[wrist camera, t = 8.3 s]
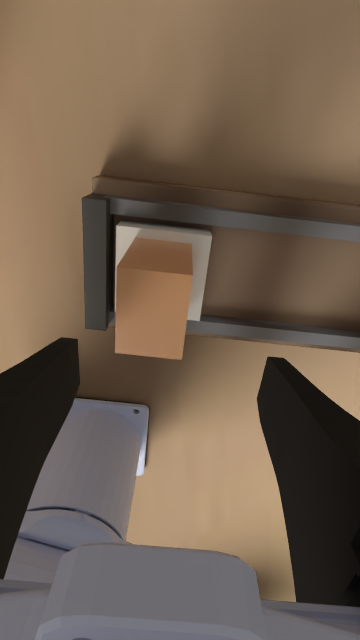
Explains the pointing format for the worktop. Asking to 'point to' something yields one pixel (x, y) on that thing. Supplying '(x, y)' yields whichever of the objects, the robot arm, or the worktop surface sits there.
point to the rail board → (240, 260)
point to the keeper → (158, 286)
